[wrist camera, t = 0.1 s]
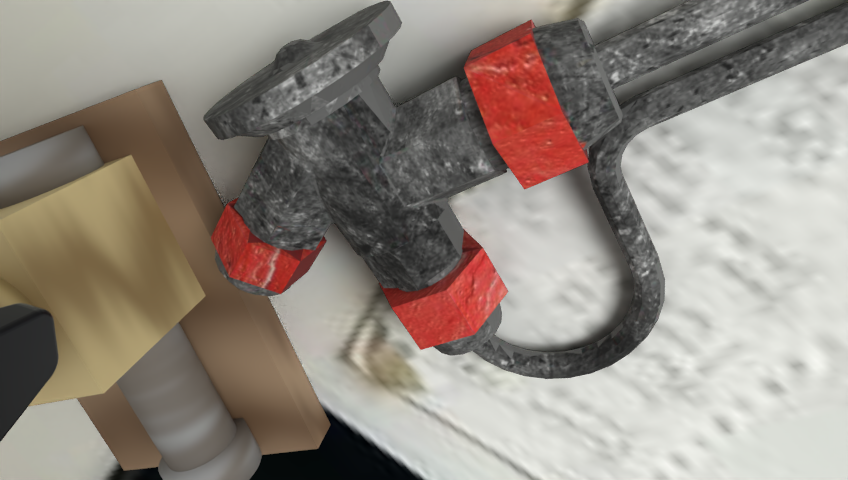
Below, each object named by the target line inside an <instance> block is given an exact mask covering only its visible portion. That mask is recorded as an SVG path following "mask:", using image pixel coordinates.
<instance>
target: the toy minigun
mask: <svg viewBox="0 0 848 480" xmlns="http://www.w3.org/2000/svg"><path fill="white" fill-rule="evenodd" d="M806 1H808V0H690V1H688V2H686V3H683V4H681V5H679V6H677V7H675V8H673V9H671V10H669V11H667V12H665V13H663V14H661V15H658V16H656V17H654V18H652V19H650V20H648V21H646V22H644V23H642V24H640V25H638V26H636V27H634V28H631V29H629V30H627V31H625V32H623V33H621V34H619V35H617V36H615V37H613V38H611V39H609V40H606V41H604V42H602V43H600V44H598V45H596V46H594V44H593V41H592V39H591V37H590V34H589V32H588V29H587V27H586V25H585V23H584V21H582V20H580V19H578V18H576V19H572V20H567V21H562V22H558V23H553V24H549V25H544V26H540V27H535V25H534V23H533V21H532V19H531V20H529V21H527V22H525V23H524V24H522V25H520V26H518V27H516V28H514V29H512V30H510V31H508V32H506V33H504V34H502V35H500V36H498V37H497V38H495V39H493V40H491V41H489V42H487V43H485V44H483V45H481V46H479V47H477V48H475V49H473V50H471V52H470V54H469V57H468V59H467V61H466V63H465V66H464V70H465V73H466V75H467V78H465V79H463V80H462V79H461V78H459V77H457V76H455V77H453V78H451V79H449V80H448V81H446V82H444V83H442V84H440V85H438V86H436V87H434V88H432V89H430V90H428V91H426V92H425V93H423V94H421V95H419V96H417V97H415V98H413V99H411V100H409V101H407V102H405V103H404V104H402V105H400V106H398V107H395V105H394V104H393V102H392V100H391V98H390V96H389V95H388V93H387V91H386V89H385V88H384V86H383V84H382V82H381V81H380V79H379V77H378V75H379V73H380V68H379V66H378V64H379V63H380V62H381V61H382V59H383V57H384V54H385V51H386V49H387V46H388V43H389V40H390V39H391V38H392V37H393V36H394V35H395V34H396V32H397V31H398V30H399V29H400V28H401V24H402V22H401V20H400V18H399V16H398V14H397V13H396V11H395V9H394V7H393V5H392V3H391V2H390V1H383V2H380V3H377V4H375V5H372V6H370V7H367V8H365V9H363V10H361V11H359V12H357V13H355V14H354V15H352V16H350V17H348V18H347V19H345V20H343V21H341V22H340V23H338V24H336V25H334V26H333V27H331V28H329V29H328V30H326V31H324V32H322V33H321V34H319V35H317V36H315V37H314V38H312V39H310V40H308V41H307V40H301V39H300V40H295V41H292V42H290V43H288V44H286V45H285V46H284V47H282V48H281V49H280V51H279V52H278V53H277V55H276V58H275V61H274V62H272V63H271V64H269V65H268V66H266V67H265V68H263V69H262V70H261V71H259V72H258V73H256V74H255V75H253V76H252V77H250V78H249V79H248V80H246V81H245V82H243V83H242V84H241V85H239V86H238V87H237V88H235V89H234V90H233V91H231V92H230V93H229V94H227V95H226V96H225V97H224V98H222V99H221V100H220V101H219V102H218V103H217V104H215V105H214V106H213V107H212V108H211V109H210V110H209V111H208V112H207V113H206V114H205V116H204V119H203V120H204V121H205V122H206V124H207V125H208V126H209V128H210V129H211V130H212V132H213V133H214V134H215V136H216V137H217V138H218V139H221V140H224V139H228V138H232V137H235V136H238V135H240V136H250V137H263V136H266V135H268V137H269V138H268V140H267V142H266V144H265V146H264V148H263V150H262V152H261V154H260V156H259V158H258V160H257V162H256V164H255V166H254V168H253V170H252V172H251V174H250V176H249V178H248V180H247V182H246V184H245V186H244V188H243V190H242V192H241V194H240V196H239V198H237V199H235V200H233V201H231V202H229V203H227V205H226V207H225V209H224V211H223V213H222V215H221V218H220V220H219V222H218V224H217V226H216V228H215V230H214V232H213V234H212V236H211V240H212V242H213V244H214V246H215V248H216V249H215V261H216V264H217V266H218V269H219V271H220V272H221V273H222V274H223V275H224V277H225V278H226V279H227V280H228V281H229V282H230V283H232V284H233V285H234V286H235V287H237V288H238V289H240V290H242V291H245V292H247V293H250V294H254V295H262V296H273V295H278V294H282V293H283V292H284V291H286V290H287V289H289V288H290V286H291V285H292V284H293V283H295V282H296V281H297V280H298V279H299V278H301V277H302V276H303V275H304V274H306V273H307V272H308V270H309V269H310V267H311V265H312V264H313V262H314V261H315V259H316V257H317V256H318V254H319V252H320V251H321V249H322V248H323V246H324V244H325V243H326V241H327V240H326V239H325V237H324V234H325V233H326V231H327V229H328V228H329V226H330V225H331V224H332V223H335V224H336V225H337V227H338V228H339V229H340V231H341V232H342V234H343V235H344V236H345V238H346V239H347V240H348V242H349V243H350V245H351V246H352V247H353V249H354V250H355V252H356V253H357V254H358V255H360V256H362V257H363V259H364V260H365V262H366V263H367V265H368V266H369V268H370V269H371V270H372V272H373V273H374V275H375V276H376V278H377V279H378V281H379V282H380V283H379V284H380V286H381V288H382V290H383V292H384V294H385V296H386V298H387V300H388V302H389V304H390V306H391V308H392V309H393V311H394V312H395V313H396V315H397V316H398V318H399V319H400V321H401V322H402V323H403V325H404V326H405V328H406V329H407V331H408V332H409V334H410V335H411V336H412V338H413V339H414V341H415V342H416V344H417V345H418V346H419V348H420V349H421V350H422V349H425V348H429V347H432V346H433V347H435V348H436V349H437V350H439V351H440V352H441V353H444V354H447V355H461V354H465V353H467V352H470V351H472V350H473V351H474V352H475V353H477V354H478V355H479V356H480V357H482V358H483V359H484V360H486V361H488V362H490V363H492V364H494V365H496V366H498V367H500V368H502V369H504V370H506V371H510V372H513V373H516V374H520V375H523V376H529V377H537V378H545V379H553V378H571V377H575V376H580V375H585V374H590V373H593V372H595V371H598V370H600V369H603V368H605V367H608V366H610V365H612V364H614V363H615V362H617V361H619V360H620V359H622V358H623V357H625V356H626V355H628V354H629V353H631V352H632V351H633V350H634V349H635V348H636V347H637V346H638V345H639V344H640V343H641V342H642V341H643V340H644V339H645V338H646V337H647V336H648V335H649V333H650V331H651V330H652V328H653V327H654V325H655V324H656V322H657V320H658V318H659V315H660V312H661V309H662V306H663V303H664V295H665V278H664V275H663V271H662V268H661V264H660V260H659V257H658V254H657V252H656V250H655V247H654V245H653V243H652V240H651V238H650V236H649V234H648V231H647V229H646V227H645V225H644V222H643V220H642V218H641V215H640V213H639V211H638V209H637V206H636V204H635V202H634V199H633V197H632V195H631V193H630V190H629V188H628V186H627V184H626V181H625V179H624V177H623V174H622V171H621V159H622V154H623V152H624V150H625V148H626V146H627V144H628V143H629V142H630V141H631V140H632V139H633V138H634V137H635V136H636V135H637V134H639V133H640V132H642V131H644V130H645V129H647V128H649V127H651V126H654V125H656V124H659V123H661V122H663V121H666V120H668V119H670V118H673V117H675V116H678V115H680V114H682V113H685V112H687V111H689V110H692V109H694V108H696V107H699V106H701V105H704V104H706V103H708V102H711V101H713V100H715V99H718V98H720V97H722V96H725V95H727V94H730V93H732V92H734V91H737V90H739V89H741V88H744V87H746V86H748V85H751V84H753V83H756V82H758V81H760V80H763V79H765V78H767V77H770V76H772V75H774V74H777V73H779V72H782V71H784V70H786V69H789V68H791V67H793V66H796V65H798V64H800V63H803V62H805V61H808V60H810V59H812V58H815V57H817V56H819V55H822V54H824V53H826V52H829V51H831V50H834V49H836V48H838V47H841V46H843V45H845V44H848V2H847V3H844V4H842V5H840V6H838V7H835V8H833V9H831V10H829V11H826V12H824V13H822V14H819V15H817V16H815V17H813V18H810V19H808V20H806V21H804V22H801V23H799V24H797V25H795V26H792V27H790V28H788V29H786V30H783V31H781V32H779V33H777V34H774V35H772V36H770V37H768V38H765V39H763V40H761V41H759V42H756V43H754V44H752V45H750V46H747V47H745V48H743V49H741V50H738V51H736V52H734V53H732V54H729V55H727V56H725V57H723V58H720V59H718V60H716V61H714V62H711V63H709V64H707V65H704V66H702V67H700V68H698V69H695V70H693V71H691V72H689V73H686V74H684V75H682V76H680V77H677V78H675V79H673V80H671V81H668V82H666V83H664V84H662V85H659V86H657V87H655V88H653V89H650V90H648V91H646V92H644V93H641V94H639V95H637V96H635V97H633V98H632V99H630V100H628V101H627V102H625V103H623V104H622V105H620V106H619V104H618V101H617V99H616V96H615V94H614V92H613V89H614V88H616V87H618V86H620V85H622V84H625V83H627V82H629V81H631V80H634V79H636V78H638V77H640V76H642V75H645V74H647V73H649V72H651V71H653V70H656V69H658V68H660V67H662V66H664V65H667V64H669V63H671V62H673V61H676V60H678V59H680V58H682V57H684V56H687V55H689V54H691V53H693V52H695V51H698V50H700V49H702V48H704V47H706V46H709V45H711V44H713V43H715V42H718V41H720V40H722V39H724V38H726V37H729V36H731V35H733V34H735V33H737V32H740V31H742V30H744V29H746V28H749V27H751V26H753V25H755V24H757V23H760V22H762V21H764V20H766V19H768V18H771V17H773V16H775V15H777V14H779V13H782V12H784V11H786V10H788V9H791V8H793V7H795V6H797V5H799V4H802V3H804V2H806ZM587 148H589V156H588V155H587V150H586V149H587ZM586 163H588V170H589V174H590V178H591V182H592V186H593V189H594V191H595V194H596V196H597V198H598V200H599V202H600V204H601V206H602V209H603V211H604V213H605V215H606V217H607V219H608V221H609V224H610V226H611V228H612V230H613V232H614V234H615V236H616V238H617V241H618V243H619V245H620V247H621V249H622V251H623V253H624V256H625V258H626V260H627V262H628V264H629V266H630V268H631V271H632V275H633V278H634V296H633V299H632V303H631V307H630V309H629V311H628V312H627V314H626V316H625V317H624V319H623V321H622V322H621V323H620V324H619V325H618V326H617V327H616V328H615V329H614V330H613V331H612V332H611V333H610V334H608V335H607V336H605V337H604V338H602V339H601V340H599V341H597V342H595V343H592V344H590V345H587V346H585V347H582V348H578V349H573V350H569V351H563V352H540V351H531V350H526V349H523V348H520V347H516V346H513V345H511V344H509V343H507V342H505V341H503V340H501V339H499V338H498V337H496V336H495V335H494V333H495V332H496V331H497V329H498V327H499V325H500V323H501V317H502V312H501V307H500V301H501V300H502V299H503V298H504V296H505V295H506V294H507V292H508V290H507V288H506V287H505V285H504V283H503V281H502V280H501V278H500V276H499V275H498V273H497V271H496V269H495V268H494V266H493V264H492V263H491V261H490V259H489V257H488V256H487V254H486V252H485V251H484V249H483V247H482V246H481V245H480V244H479V243H478V242H477V241H475V240H474V239H473V238H472V237H471V236H470V235H469V234H468V233H467V232H466V231H465V230H464V229H463V228H462V226H461V224H460V223H459V221H458V219H457V218H456V216H455V214H454V213H453V211H452V209H451V207H450V206H449V204H448V197H450V196H453V195H455V194H457V193H460V192H462V191H464V190H467V189H469V188H471V187H474V186H476V185H478V184H481V183H483V182H485V181H488V180H490V179H492V178H495V177H497V176H499V175H502V174H504V173H506V172H507V170H506V169H507V168H510V169H511V171H512V172H513V174H514V175H515V177H516V178H517V179H518V181H519V182H520V184H521V185H522V186H523V188H524V189H527V188H529V187H531V186H534V185H536V184H539V183H541V182H543V181H546V180H548V179H550V178H553V177H555V176H558V175H560V174H562V173H565V172H567V171H569V170H572V169H574V168H577V167H579V166H581V165H584V164H586Z"/></svg>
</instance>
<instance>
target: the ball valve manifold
mask: <svg viewBox="0 0 848 480" xmlns="http://www.w3.org/2000/svg"><path fill="white" fill-rule="evenodd" d="M224 209H225V208H224V206H223V204H222V202H221V200H220V198H219V196H218V194H217V192H216V190H215V188H214V186H213V184H212V182H211V180H210V178H209V176H208V174H207V172H206V170H205V168H204V166H203V164H202V161H201V159H200V157H199V155H198V153H197V151H196V149H195V147H194V145H193V143H192V141H191V139H190V137H189V135H188V133H187V131H186V129H185V127H184V125H183V123H182V121H181V119H180V117H179V115H178V113H177V111H176V108H175V106H174V104H173V102H172V100H171V98H170V96H169V94H168V92H167V90H166V88H165V86H164V84H163V82H162V80H160V81H157V82H154V83H151V84H149V85H146V86H143V87H140V88H138V89H135V90H132V91H130V92H127V93H125V94H122V95H119V96H117V97H114V98H112V99H109V100H106V101H104V102H101V103H98V104H96V105H93V106H91V107H88V108H85V109H83V110H80V111H78V112H75V113H72V114H70V115H67V116H65V117H62V118H59V119H57V120H54V121H52V122H49V123H46V124H44V125H41V126H39V127H36V128H33V129H31V130H28V131H26V132H23V133H20V134H18V135H15V136H13V137H10V138H7V139H5V140H2V141H0V308H1V307H4V306H8V305H12V304H16V303H25V304H29V305H32V306H36V307H39V308H42V309H45V310H47V311H49V312H50V313H51V315H52V316H53V319H54V325H55V332H56V340H57V347H58V356H59V359H58V364H57V367H56V369H55V371H54V373H53V375H52V376H51V378H50V379H49V380H48V381H47V383H46V384H45V385H44V387H43V388H42V389H41V390H40V392H39V393H38V394H37V396H36V397H35V398H34V399H33V401H32V402H31V403H30V404H29V406H33V405H39V404H45V403H51V402H57V401H62V400H68V399H74V398H77V399H78V401H79V402H80V404H81V405H82V407H83V408H84V410H85V411H86V413H87V415H88V416H89V418H90V419H91V421H92V422H93V424H94V425H95V427H96V428H97V430H98V431H99V433H100V434H101V436H102V438H103V439H104V441H105V442H106V444H107V445H108V447H109V448H110V450H111V451H112V453H113V454H114V456H115V457H116V459H117V461H118V462H119V464H120V465H121V467H122V468H123V470H124V471H125V470H134V469H143V468H152V467H158V470H159V473H160V475H161V477H162V478H163V480H249V479H250V478H251V477H252V475H253V474H254V473H255V471H256V470H257V468H258V466H259V464H260V461H261V456H262V455H266V454H274V453H283V452H292V451H301V450H309V449H318V448H319V446H320V444H321V442H322V440H323V438H324V436H325V434H326V432H327V430H328V429H329V427H330V425H331V424H330V422H329V420H328V418H327V416H326V414H325V412H324V410H323V408H322V406H321V404H320V402H319V400H318V398H317V396H316V394H315V392H314V390H313V388H312V386H311V384H310V382H309V380H308V378H307V376H306V374H305V371H304V369H303V367H302V365H301V363H300V361H299V359H298V357H297V355H296V353H295V351H294V349H293V347H292V345H291V343H290V341H289V339H288V337H287V335H286V333H285V331H284V329H283V327H282V325H281V323H280V321H279V318H278V316H277V314H276V312H275V310H274V308H273V306H272V304H271V302H270V300H269V298H268V296H262V295H254V294H250V293H247V292H245V291H242V290H240V289H238V288H237V287H235V286H234V285H233V284H232V283H230V282H229V281H228V280H227V279H226V278H225V277H224V275H223V274H222V273H221V272H220V271H219V269H218V266H217V264H216V261H215V249H216V248H215V246H214V244H213V242H212V240H211V236H212V234H213V232H214V230H215V228H216V226H217V224H218V222H219V220H220V218H221V215H222V213H223V211H224Z"/></svg>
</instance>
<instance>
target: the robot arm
mask: <svg viewBox="0 0 848 480" xmlns="http://www.w3.org/2000/svg"><path fill="white" fill-rule="evenodd" d="M58 359H59V356H58V347H57V340H56V332H55V325H54V319H53V316H52V315H51V313H50V312H49V311H47V310H45V309H42V308H39V307H36V306H32V305H29V304H25V303H16V304H12V305H8V306H4V307H1V308H0V441H1V440H2V439H3V438H4V436H5V435H6V434H7V432H8V431H9V430H10V429H11V427H12V426H13V425H14V424H15V422H16V421H17V420H18V418H19V417H20V416H21V415H22V413H23V412H24V411H25V410H26V408H27V407H28V406H29V404H30V403H31V402H32V401H33V399H34V398H35V397H36V396H37V394H38V393H39V392H40V390H41V389H42V388H43V387H44V385H45V384H46V383H47V381H48V380H49V379H50V378H51V376H52V375H53V373H54V371H55V369H56V367H57V364H58Z"/></svg>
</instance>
